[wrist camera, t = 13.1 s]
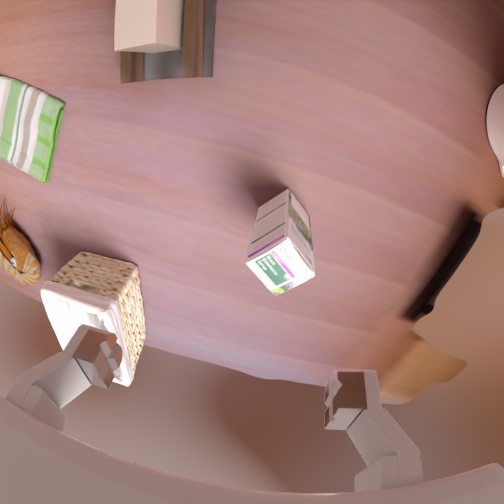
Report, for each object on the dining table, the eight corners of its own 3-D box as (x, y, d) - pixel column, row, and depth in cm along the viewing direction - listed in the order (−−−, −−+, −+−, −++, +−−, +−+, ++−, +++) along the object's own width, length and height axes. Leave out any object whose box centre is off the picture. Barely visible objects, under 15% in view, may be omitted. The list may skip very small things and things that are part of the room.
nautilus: (-4, 194, 49) (34, 196, 49) (16, 269, 60) (53, 279, 60) (-25, 208, 43) (10, 211, 42) (-1, 286, 53) (36, 298, 53)
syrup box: (256, 207, 44) (241, 264, 32) (290, 186, 41) (287, 238, 29) (279, 235, 46) (272, 299, 34) (311, 216, 43) (317, 277, 31)
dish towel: (1, 72, 33) (-12, 75, 30) (69, 98, 37) (55, 102, 34) (-10, 144, 42) (-21, 149, 39) (51, 182, 46) (40, 190, 43)
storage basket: (76, 241, 53) (34, 287, 40) (145, 258, 52) (108, 314, 40) (96, 321, 66) (69, 365, 54) (153, 339, 66) (131, 390, 53)
